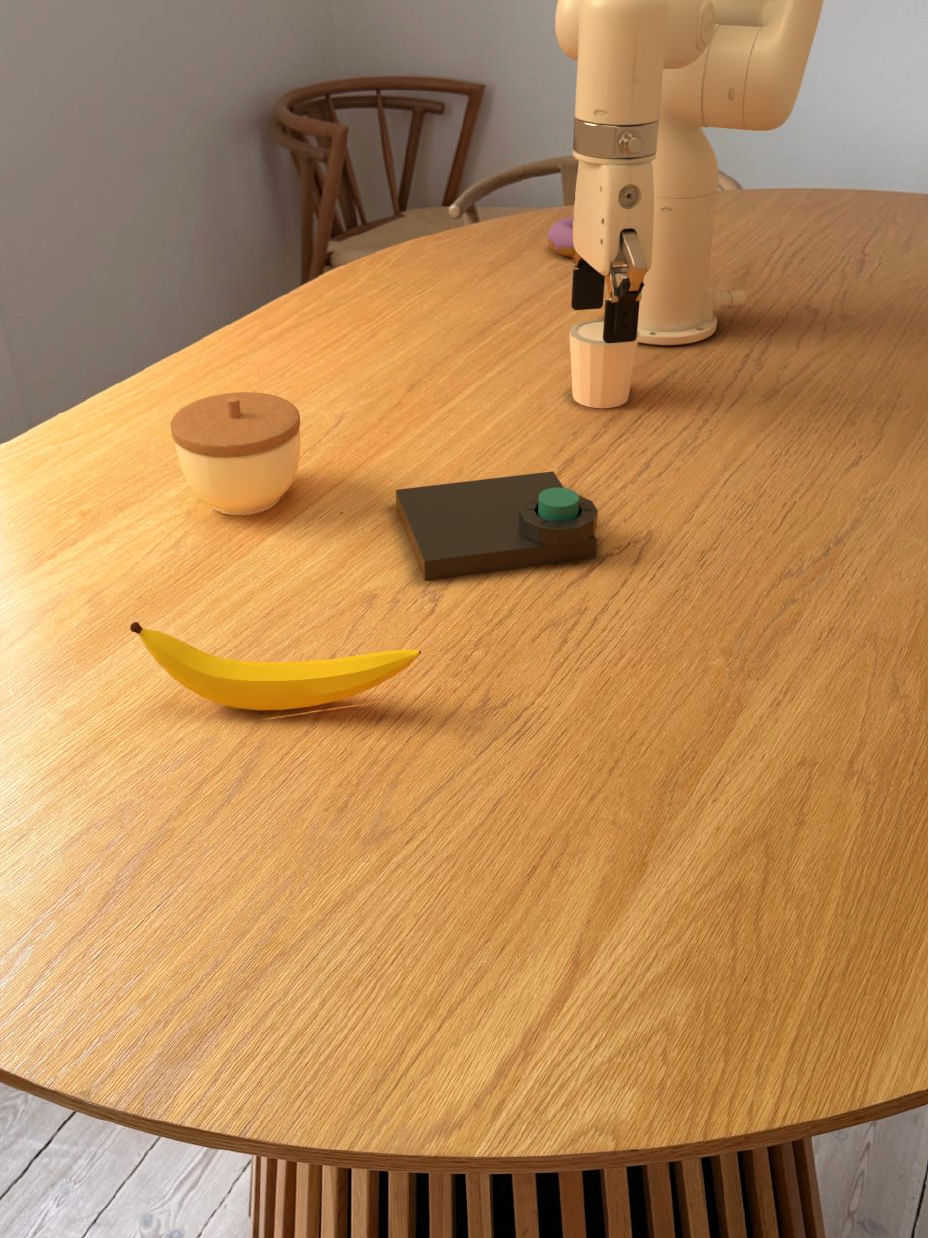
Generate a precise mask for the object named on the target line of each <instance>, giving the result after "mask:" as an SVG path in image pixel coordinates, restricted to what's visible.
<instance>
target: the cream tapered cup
mask: <svg viewBox="0 0 928 1238" xmlns="http://www.w3.org/2000/svg"><path fill="white" fill-rule="evenodd" d="M603 327H604V319H590V320H585V321H581V322H578V323H575V324H574V325H572V326H571V328H570V329H569V350H570V353H569V354H570V367H571V368H570V369H571V388H572V390H571V391H572V398H573V401H575V402H576V403H578V404H579V405H582V406H585V407H588V408H593V409H594V408H595V409H612V408H616V407H621V406H623V405H624V404H626V403H627V402H628V399H629V397H630V392H631V391H630V390H631V384H632V380H633V373H634V372H633V371H634V367H635V361H636V355H637V350H638V345H639V342H638V338H639V331H638V330H637V338H636V340H635V341H633V342H621V343H606V342H605V341H604V340H603Z"/></svg>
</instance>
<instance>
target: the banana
mask: <svg viewBox="0 0 928 1238" xmlns="http://www.w3.org/2000/svg"><path fill="white" fill-rule="evenodd" d="M129 629H130V632H132V633H136V634H137V635H138V636H139V638H140V639H141V641H142V643H143V644H144V646H145V648H146V650H147V651H148V653H149V654H150V655H151V656H152V657H153V658H154V660H155V661H156V662H157V663H158V665H160V667H161V668H163V670H164V671H165V672H166V673H167V674H169V675H170V676H171V678H173V679H174V680H176V681H177V682H178V683H179V684H180V685H182V686H183V687H184V688H185V689H187V690H189V691H191V692H193V693H194V694H196V695H198V696H199V697H201V698H204V699H206V700H208V701H211V702H214V703H216V704H219V705H224V706H226V707H227V706H228V707H230V708H235V709H244V710H253V711H254V710H255V711H283V710H285V711H286V710H293V709H301V708H308V707H314V706H319V705H320V706H321V705H323V704H329V703H333V702H337V701H340V700H345V699H348V698H351V697H354V696H357V695H359V694H361V693H363V692H366V691H369V690H371V689H373V688H376V687H377V686H379V685H380V684H382V683H384V682H386V681H388V680H390V679H392V678H394V677H395V676H397V675H398V674H400V673H401V672H402V671H404V670H405V669H407V668H408V667H410V666H411V664H412V663H413V662H414V660H416V659H417V658H418V657H420V656H421V654H422V651H421V650H419V649H416V650H413V649H407V648H405V649H397V650H396V649H394V650H386V651H377V652H370V653H363V654H356V655H350V656H343V657H336V658H328V659H315V660H299V661H297V660H296V661H252V660H239V659H232V658H224V657H221V656H217V655H214V654H210V653H208V652H207V651H204V650H201V649H199V648H197V647H195V646H193V645H191V644H189V643H187V642H185V641H183V640H181V639H179V638H176V637H174V636H173V635H169V634H167V633H164V632H162V631H159V630H153V629H148V628H143V627H142V625H140V623H139V622H137V621H133V622H132V623H130V627H129Z"/></svg>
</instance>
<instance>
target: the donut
mask: <svg viewBox="0 0 928 1238" xmlns="http://www.w3.org/2000/svg"><path fill="white" fill-rule="evenodd" d="M547 240H548V245H549V246H550V248H551V250H553V251H554V252H555V253H557V254H558V255H560V256H563V257H566V258H571V259H573V257H574V254H575V252H576V250H575V248H574V245H573V216H570V217H566V218H561V219H559V220H558V221H556V222H554V223H553V224H552V225H551V227H549V231H548V232H547Z"/></svg>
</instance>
